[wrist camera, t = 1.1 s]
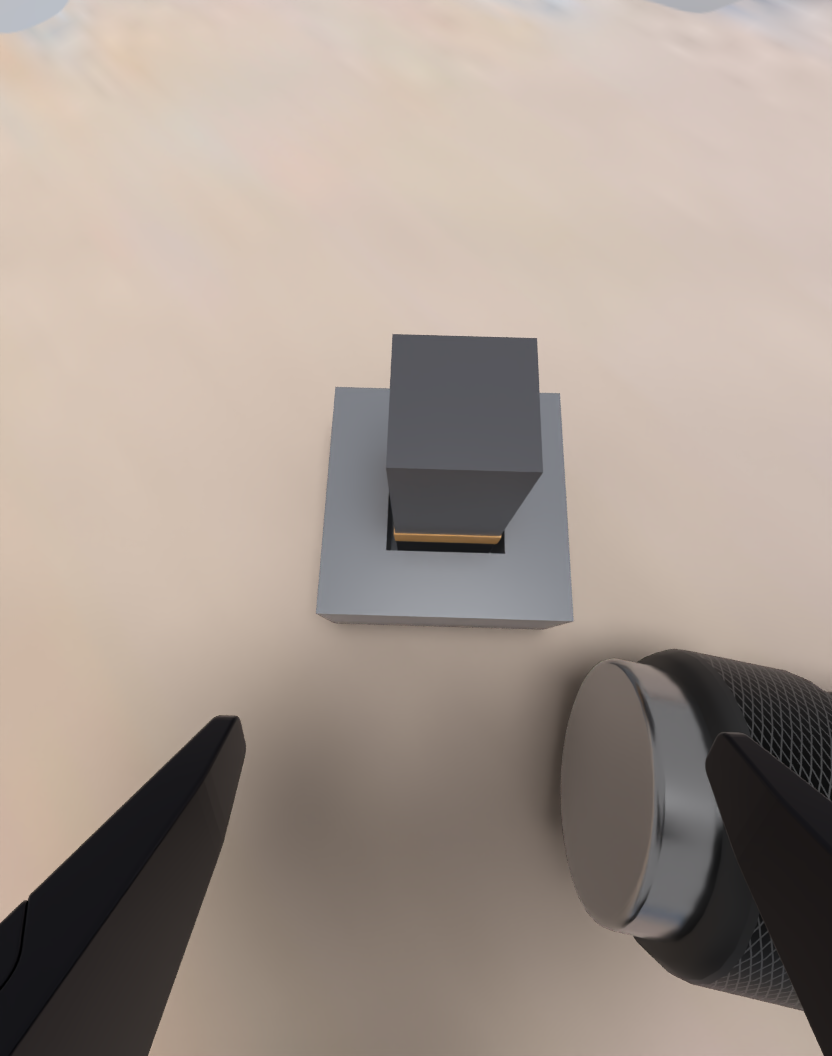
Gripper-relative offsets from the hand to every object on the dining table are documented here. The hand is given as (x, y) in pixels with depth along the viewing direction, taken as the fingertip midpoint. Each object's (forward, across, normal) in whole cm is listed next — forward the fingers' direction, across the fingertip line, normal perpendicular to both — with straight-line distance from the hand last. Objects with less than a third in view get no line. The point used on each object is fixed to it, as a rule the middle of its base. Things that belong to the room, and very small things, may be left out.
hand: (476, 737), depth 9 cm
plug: (+15, 0, +3) cm, 15 cm away
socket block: (+15, 0, +4) cm, 16 cm away
